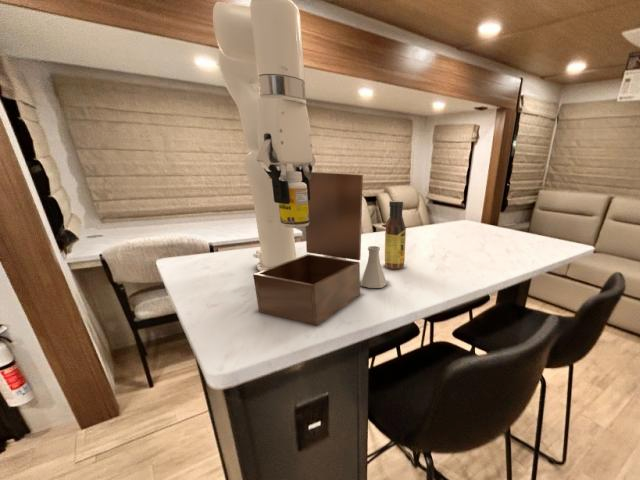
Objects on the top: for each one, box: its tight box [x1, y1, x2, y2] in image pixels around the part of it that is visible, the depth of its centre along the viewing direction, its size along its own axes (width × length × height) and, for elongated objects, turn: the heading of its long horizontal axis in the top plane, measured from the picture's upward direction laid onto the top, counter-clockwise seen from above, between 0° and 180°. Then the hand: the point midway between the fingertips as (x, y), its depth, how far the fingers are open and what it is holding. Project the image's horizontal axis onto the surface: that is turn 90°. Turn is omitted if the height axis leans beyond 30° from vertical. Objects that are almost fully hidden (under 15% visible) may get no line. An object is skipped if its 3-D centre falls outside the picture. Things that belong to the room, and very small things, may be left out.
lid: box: [305, 171, 364, 261], centre depth 73 cm, size 18×15×5 cm
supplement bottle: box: [279, 171, 309, 229], centre depth 61 cm, size 6×6×10 cm
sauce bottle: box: [384, 200, 407, 270], centre depth 93 cm, size 6×6×20 cm
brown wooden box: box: [252, 253, 361, 326], centre depth 68 cm, size 18×15×8 cm
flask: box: [360, 245, 388, 289], centre depth 80 cm, size 7×7×10 cm
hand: (293, 200), depth 61 cm, fingers closed on supplement bottle, 5 cm apart
